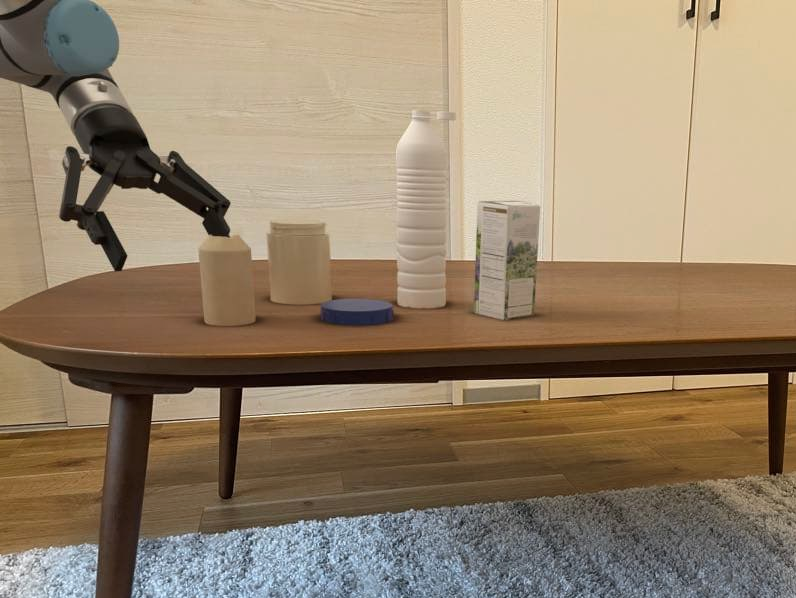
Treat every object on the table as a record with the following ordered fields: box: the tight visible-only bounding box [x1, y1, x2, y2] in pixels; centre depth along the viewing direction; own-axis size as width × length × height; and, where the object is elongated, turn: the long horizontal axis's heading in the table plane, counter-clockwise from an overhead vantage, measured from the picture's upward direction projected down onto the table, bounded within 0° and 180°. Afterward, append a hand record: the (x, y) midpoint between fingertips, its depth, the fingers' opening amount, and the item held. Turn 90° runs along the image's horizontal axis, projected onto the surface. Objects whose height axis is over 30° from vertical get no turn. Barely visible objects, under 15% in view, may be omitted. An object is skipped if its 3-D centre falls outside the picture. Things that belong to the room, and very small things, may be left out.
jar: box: [265, 218, 333, 305], centre depth 104 cm, size 8×8×10 cm
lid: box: [320, 298, 394, 327], centre depth 94 cm, size 8×8×2 cm
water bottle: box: [395, 109, 457, 310], centre depth 103 cm, size 9×6×25 cm
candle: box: [197, 234, 256, 327], centre depth 88 cm, size 6×6×10 cm
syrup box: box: [473, 200, 541, 321], centre depth 99 cm, size 6×6×14 cm
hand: (179, 259), depth 93 cm, fingers open, 13 cm apart
